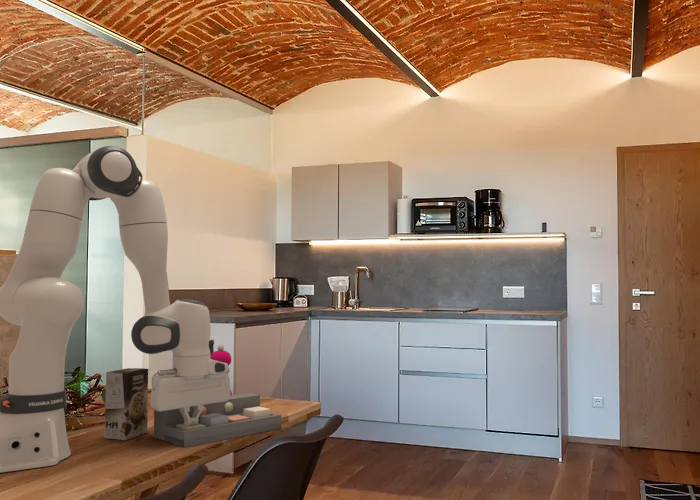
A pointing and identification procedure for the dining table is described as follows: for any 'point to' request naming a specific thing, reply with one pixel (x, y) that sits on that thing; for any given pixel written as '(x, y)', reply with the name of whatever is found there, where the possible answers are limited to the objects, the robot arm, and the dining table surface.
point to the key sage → (190, 426)
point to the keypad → (233, 406)
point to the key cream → (256, 412)
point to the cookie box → (126, 403)
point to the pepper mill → (222, 357)
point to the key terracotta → (237, 418)
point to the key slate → (213, 419)
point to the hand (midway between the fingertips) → (191, 425)
